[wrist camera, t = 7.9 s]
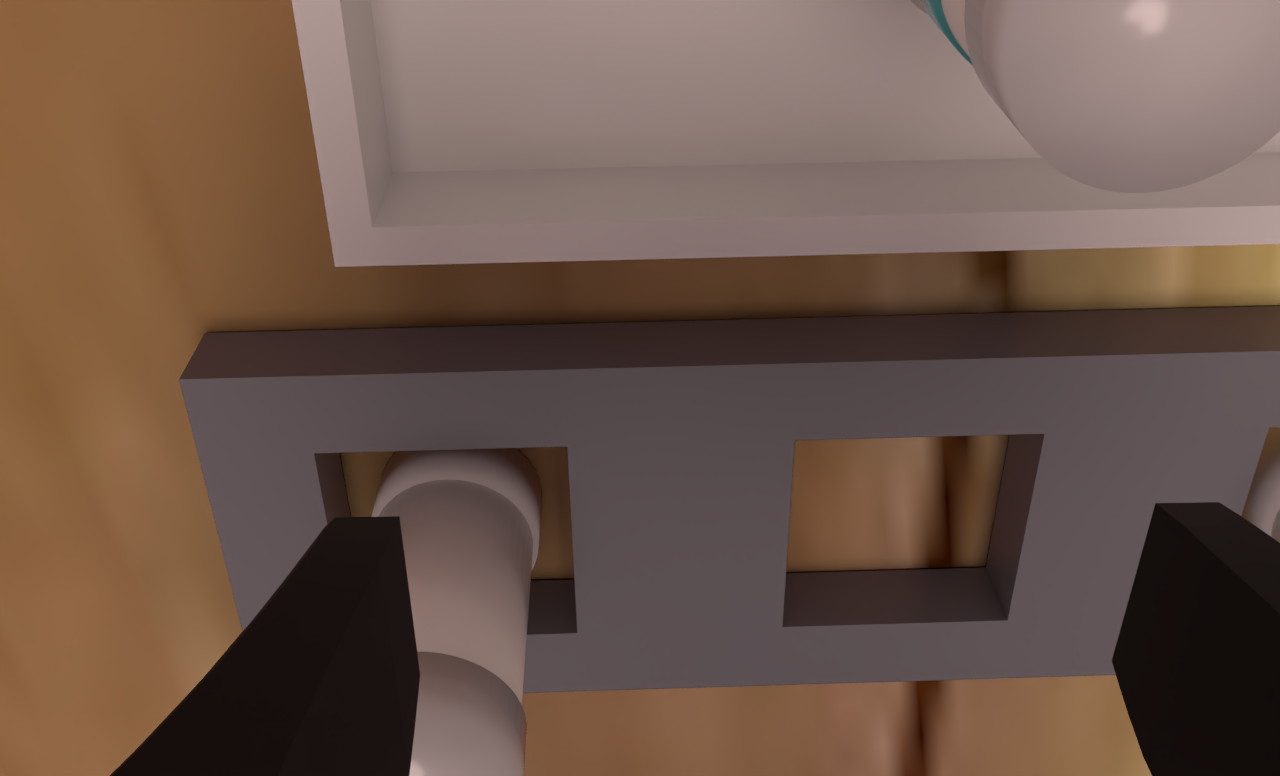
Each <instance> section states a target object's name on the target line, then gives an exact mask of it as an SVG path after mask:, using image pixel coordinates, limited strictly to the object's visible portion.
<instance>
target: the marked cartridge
mask: <svg viewBox="0 0 1280 776" xmlns="http://www.w3.org/2000/svg"><path fill="white" fill-rule="evenodd" d="M910 1H912V2H913V3H914V4H915V5H916V6H917V7H918V8H919V9H921V10H922V11H923V12H925V13H926V14H928V15H929V16H930V18H931V19H932V20H933V22H934V23H935V24H936V25H937V27H938V28H939V29H940V30H941V31H942V33H943V34H944V35H945V36H946V37H947V38H948V40H949V41H950V42H951V43H952V44H953V46H954V47H955V48H956V49H957V50H958V51H959V53H960V54H961V55H962V56H963V57H964V58H965V59H966V60H967V61H968V62H969V63H970V64H971V65H972V66H973V67H974V70H975V72H976V74H977V76H978V78H979V80H980V82H981V84H982V85H983V87H984V89H985V90H986V91H987V93H988V94H989V95H990V97H991V98H992V99H993V101H994V102H995V103H996V104H997V106H998V107H999V108H1000V109H1001V110H1002V112H1003V113H1004V114H1005V115H1006V116H1007V118H1008V119H1009V120H1010V121H1011V122H1012V123H1013V125H1014V126H1015V127H1016V128H1017V129H1018V131H1019V132H1020V133H1021V134H1022V135H1023V137H1024V138H1025V139H1026V140H1027V141H1028V143H1029V144H1030V145H1031V146H1032V147H1033V149H1034V150H1035V151H1036V152H1037V153H1038V154H1039V155H1040V156H1041V157H1042V158H1043V159H1044V160H1045V161H1046V162H1047V163H1048V164H1050V165H1051V166H1052V167H1054V168H1055V169H1057V170H1058V171H1060V172H1061V173H1063V174H1064V175H1066V176H1068V177H1070V178H1072V179H1074V180H1076V181H1078V182H1080V183H1082V184H1086V185H1089V186H1092V187H1095V188H1098V189H1103V190H1108V191H1114V192H1123V193H1148V192H1160V191H1165V190H1170V189H1175V188H1180V187H1184V186H1187V185H1190V184H1193V183H1196V182H1199V181H1202V180H1205V179H1207V178H1209V177H1212V176H1214V175H1216V174H1218V173H1221V172H1223V171H1225V170H1226V169H1228V168H1230V167H1232V166H1234V165H1235V164H1237V163H1239V162H1241V161H1242V160H1244V159H1245V158H1247V157H1248V156H1250V155H1251V154H1252V153H1254V152H1255V151H1257V150H1258V149H1260V148H1261V147H1262V146H1263V145H1265V144H1266V143H1267V142H1268V141H1269V140H1270V139H1272V138H1273V137H1274V136H1275V135H1276V134H1277V133H1279V132H1280V0H910Z"/></svg>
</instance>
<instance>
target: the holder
mask: <svg viewBox="0 0 1280 776" xmlns="http://www.w3.org/2000/svg"><path fill="white" fill-rule="evenodd" d="M179 380H180V384H181V388H182V392H183V396H184V400H185V404H186V408H187V412H188V416H189V420H190V424H191V428H192V432H193V436H194V440H195V444H196V448H197V452H198V456H199V460H200V464H201V468H202V472H203V476H204V480H205V484H206V488H207V492H208V496H209V500H210V504H211V507H212V511H213V515H214V519H215V523H216V527H217V531H218V535H219V539H220V543H221V547H222V551H223V555H224V559H225V563H226V567H227V571H228V575H229V579H230V583H231V587H232V591H233V595H234V599H235V603H236V607H237V611H238V615H239V619H240V623H241V627H242V631H244V629H245V628H246V627H247V626H248V625H249V623H250V622H251V621H252V620H253V619H254V618H255V616H256V615H257V614H258V613H259V611H260V610H261V609H262V608H263V606H264V605H265V604H266V603H267V601H268V600H269V599H270V597H271V596H272V595H273V594H274V592H275V591H276V590H277V589H278V587H279V586H280V585H281V584H282V582H283V581H284V580H285V578H286V577H287V576H288V575H289V573H290V572H291V571H292V569H293V568H294V567H295V565H296V564H297V563H298V562H299V560H300V559H301V558H302V556H303V555H304V554H305V552H306V551H307V550H308V548H309V547H310V546H311V544H312V543H313V542H314V540H315V539H316V538H317V536H318V535H319V534H320V532H321V531H322V530H323V528H324V527H325V526H326V525H327V524H328V523H330V522H331V521H332V520H333V519H334V518H335V517H351V516H350V510H349V505H348V499H347V493H346V488H345V482H344V476H343V471H342V465H341V459H340V454H339V453H346V452H383V451H420V450H457V449H494V448H531V447H567V451H568V469H569V488H570V506H571V525H572V543H573V562H574V579H572V580H538V581H531V583H530V597H529V611H528V625H527V639H526V653H525V667H524V681H523V693H538V692H570V691H603V690H636V689H668V688H701V687H734V686H766V685H799V684H832V683H864V682H897V681H930V680H962V679H995V678H1028V677H1061V676H1093V675H1116V673H1115V670H1114V667H1113V664H1112V658H1113V654H1114V651H1115V647H1116V644H1117V640H1118V636H1119V633H1120V629H1121V626H1122V622H1123V618H1124V615H1125V611H1126V608H1127V604H1128V600H1129V597H1130V593H1131V590H1132V586H1133V582H1134V579H1135V575H1136V572H1137V568H1138V564H1139V561H1140V557H1141V554H1142V550H1143V546H1144V543H1145V539H1146V536H1147V532H1148V528H1149V525H1150V521H1151V518H1152V514H1153V510H1154V507H1155V503H1197V502H1219V503H1221V504H1223V505H1224V506H1226V507H1227V508H1229V509H1231V510H1232V511H1234V512H1235V513H1237V514H1238V515H1240V516H1241V515H1242V512H1243V509H1244V505H1245V502H1246V499H1247V496H1248V493H1249V490H1250V486H1251V483H1252V480H1253V477H1254V474H1255V471H1256V468H1257V464H1258V461H1259V458H1260V455H1261V452H1262V449H1263V445H1264V442H1265V439H1266V436H1267V433H1268V430H1269V428H1272V427H1280V306H1256V307H1216V308H1176V309H1136V310H1097V311H1057V312H1017V313H978V314H938V315H898V316H858V317H819V318H779V319H739V320H700V321H660V322H620V323H580V324H541V325H501V326H461V327H422V328H382V329H342V330H303V331H263V332H223V333H205V334H204V336H203V338H202V339H201V341H200V343H199V345H198V347H197V348H196V350H195V352H194V354H193V356H192V357H191V359H190V361H189V363H188V365H187V366H186V368H185V370H184V372H183V373H182V375H181V377H180V379H179ZM975 435H1010V436H1009V441H1008V447H1007V453H1006V458H1005V464H1004V469H1003V475H1002V480H1001V486H1000V491H999V497H998V502H997V508H996V514H995V519H994V525H993V530H992V536H991V541H990V547H989V552H988V558H987V563H986V568H952V569H918V570H883V571H849V572H814V573H786V566H787V551H788V536H789V521H790V506H791V491H792V476H793V461H794V446H795V440H827V439H864V438H901V437H938V436H975Z"/></svg>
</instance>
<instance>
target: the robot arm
mask: <svg viewBox="0 0 1280 776" xmlns="http://www.w3.org/2000/svg"><path fill="white" fill-rule="evenodd" d="M1112 664H1113V667H1114V670H1115V673H1116V676H1117V679H1118V683H1119V686H1120V689H1121V692H1122V695H1123V698H1124V702H1125V705H1126V708H1127V711H1128V714H1129V717H1130V720H1131V723H1132V726H1133V728H1134V731H1135V734H1136V737H1137V740H1138V743H1139V745H1140V748H1141V751H1142V754H1143V757H1144V759H1145V761H1146V763H1147V765H1148V767H1149V770H1150V772H1151V774H1152V776H1280V543H1279V542H1278V541H1276V540H1275V539H1274V538H1272V537H1271V536H1269V535H1268V534H1266V533H1265V532H1264V531H1262V530H1261V529H1259V528H1258V527H1256V526H1255V525H1253V524H1252V523H1250V522H1249V521H1247V520H1246V519H1244V518H1243V517H1241V516H1240V515H1238V514H1237V513H1235V512H1234V511H1232V510H1231V509H1229V508H1227V507H1226V506H1224V505H1223V504H1221V503H1219V502H1197V503H1155V507H1154V510H1153V514H1152V518H1151V521H1150V525H1149V528H1148V532H1147V536H1146V539H1145V543H1144V546H1143V550H1142V554H1141V557H1140V561H1139V564H1138V568H1137V572H1136V575H1135V579H1134V582H1133V586H1132V590H1131V593H1130V597H1129V600H1128V604H1127V608H1126V611H1125V615H1124V618H1123V622H1122V626H1121V629H1120V633H1119V636H1118V640H1117V644H1116V647H1115V651H1114V654H1113V658H1112ZM419 682H420V669H419V662H418V654H417V647H416V639H415V631H414V624H413V616H412V609H411V601H410V593H409V586H408V578H407V570H406V563H405V555H404V548H403V540H402V532H401V525H400V517H399V516H392V517H335V518H334V519H333V520H332V521H331V522H330V523H328V524H327V525H326V526H325V527H324V528H323V530H322V531H321V532H320V534H319V535H318V536H317V538H316V539H315V540H314V542H313V543H312V544H311V546H310V547H309V548H308V550H307V551H306V552H305V554H304V555H303V556H302V558H301V559H300V560H299V562H298V563H297V564H296V565H295V567H294V568H293V569H292V571H291V572H290V573H289V575H288V576H287V577H286V578H285V580H284V581H283V582H282V584H281V585H280V586H279V587H278V589H277V590H276V591H275V592H274V594H273V595H272V596H271V597H270V599H269V600H268V601H267V603H266V604H265V605H264V606H263V608H262V609H261V610H260V611H259V613H258V614H257V615H256V616H255V618H254V619H253V620H252V621H251V622H250V623H249V625H248V626H247V627H246V628H245V629H244V631H243V632H242V633H241V634H240V635H239V637H238V638H237V639H236V640H235V641H234V642H233V644H232V645H231V646H230V647H229V648H228V650H227V651H226V652H225V653H224V654H223V655H222V657H221V658H220V659H219V660H218V661H217V663H216V664H215V665H214V666H213V667H212V668H211V670H210V671H209V672H208V673H207V674H206V675H205V676H204V678H203V679H202V680H201V681H200V682H199V683H198V684H197V685H196V687H195V688H194V689H193V690H192V691H191V692H190V693H189V694H188V695H187V696H186V697H185V698H184V699H183V700H182V702H181V703H180V704H179V705H178V706H177V707H176V708H175V709H174V710H173V711H172V712H171V713H170V714H169V715H168V716H167V718H166V719H165V720H164V721H163V722H162V723H161V724H160V725H159V726H158V727H157V728H156V729H155V730H154V731H153V732H152V734H151V735H150V736H149V737H148V738H147V739H146V740H145V741H144V742H143V743H142V744H141V745H140V746H139V747H138V748H137V749H136V750H135V751H134V752H133V753H132V754H131V755H130V756H129V757H128V758H127V759H126V760H125V761H124V762H123V763H122V764H121V765H120V766H119V767H118V768H117V769H116V770H115V771H114V772H113V773H112V774H111V775H110V776H409V773H410V765H411V757H412V748H413V739H414V731H415V721H416V712H417V702H418V692H419Z"/></svg>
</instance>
